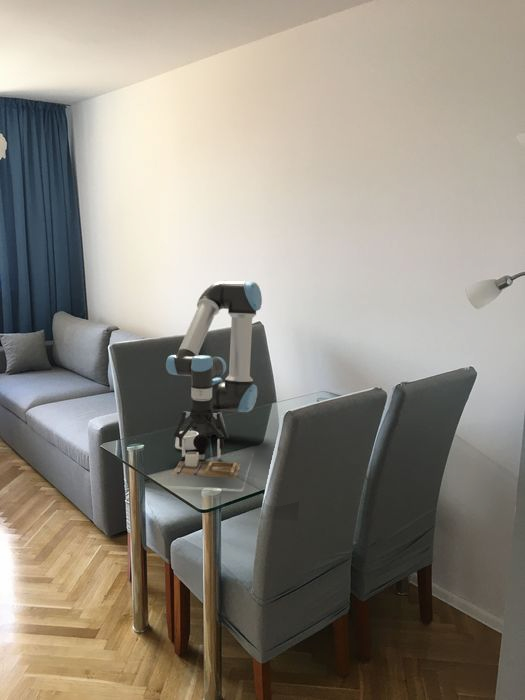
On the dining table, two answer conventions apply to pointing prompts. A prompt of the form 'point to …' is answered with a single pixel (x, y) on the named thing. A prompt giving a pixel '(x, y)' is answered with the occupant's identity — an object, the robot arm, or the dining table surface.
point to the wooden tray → (208, 469)
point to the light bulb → (201, 444)
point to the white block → (192, 459)
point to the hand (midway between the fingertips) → (201, 456)
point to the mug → (187, 440)
